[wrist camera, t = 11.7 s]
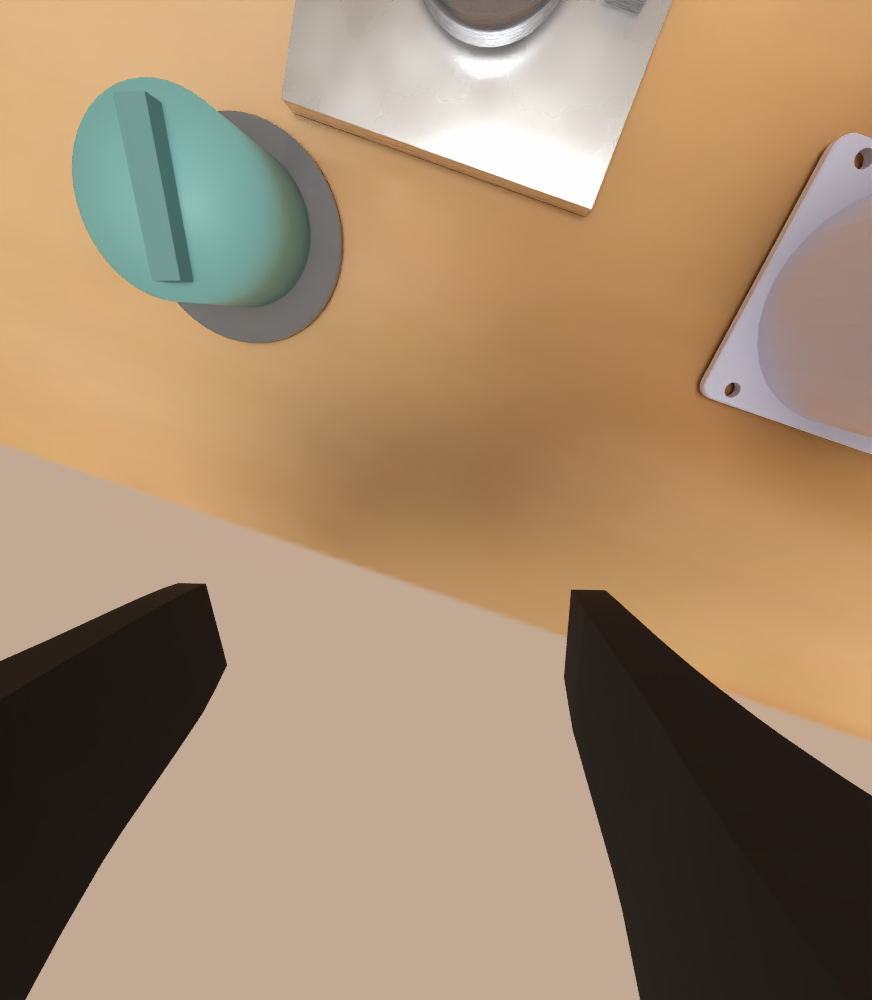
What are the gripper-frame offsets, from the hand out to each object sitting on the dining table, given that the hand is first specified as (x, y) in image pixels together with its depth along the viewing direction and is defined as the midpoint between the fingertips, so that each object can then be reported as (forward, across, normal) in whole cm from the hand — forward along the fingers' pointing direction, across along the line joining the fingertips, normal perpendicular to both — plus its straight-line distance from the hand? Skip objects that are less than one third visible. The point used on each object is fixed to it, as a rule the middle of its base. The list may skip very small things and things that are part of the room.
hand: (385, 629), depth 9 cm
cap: (+10, +6, -9) cm, 15 cm away
